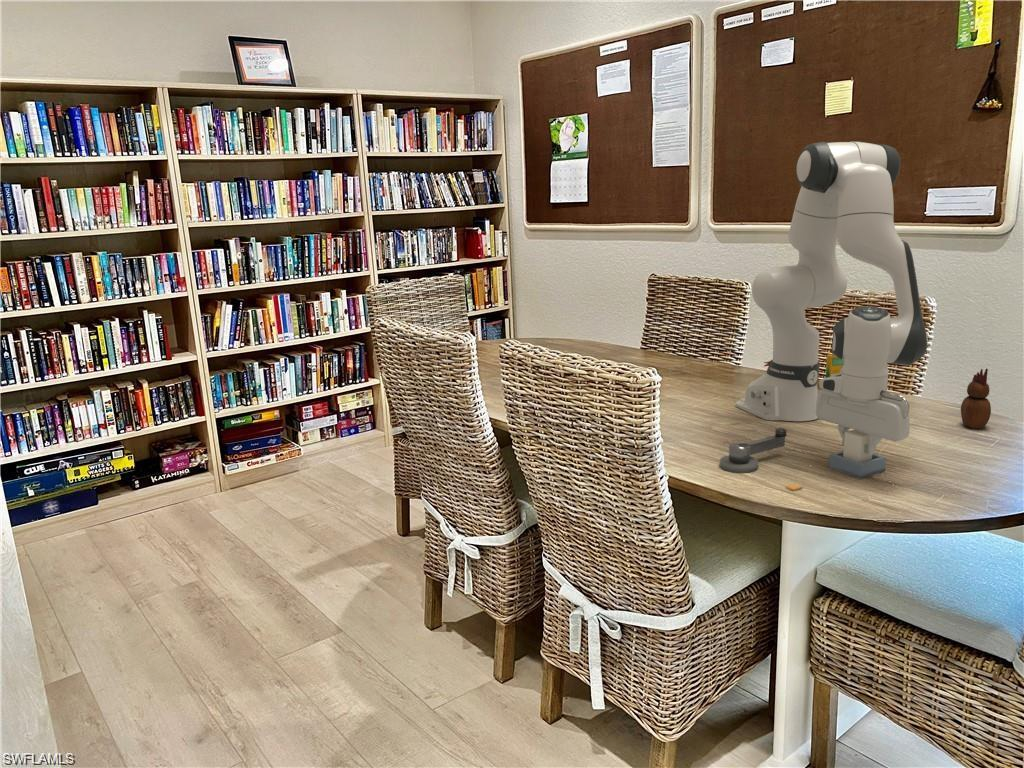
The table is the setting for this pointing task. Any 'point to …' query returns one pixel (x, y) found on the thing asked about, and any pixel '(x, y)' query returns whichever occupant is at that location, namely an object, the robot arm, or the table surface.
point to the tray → (857, 465)
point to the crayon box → (833, 365)
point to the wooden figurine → (976, 402)
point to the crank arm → (756, 446)
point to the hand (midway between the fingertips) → (858, 449)
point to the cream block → (856, 446)
